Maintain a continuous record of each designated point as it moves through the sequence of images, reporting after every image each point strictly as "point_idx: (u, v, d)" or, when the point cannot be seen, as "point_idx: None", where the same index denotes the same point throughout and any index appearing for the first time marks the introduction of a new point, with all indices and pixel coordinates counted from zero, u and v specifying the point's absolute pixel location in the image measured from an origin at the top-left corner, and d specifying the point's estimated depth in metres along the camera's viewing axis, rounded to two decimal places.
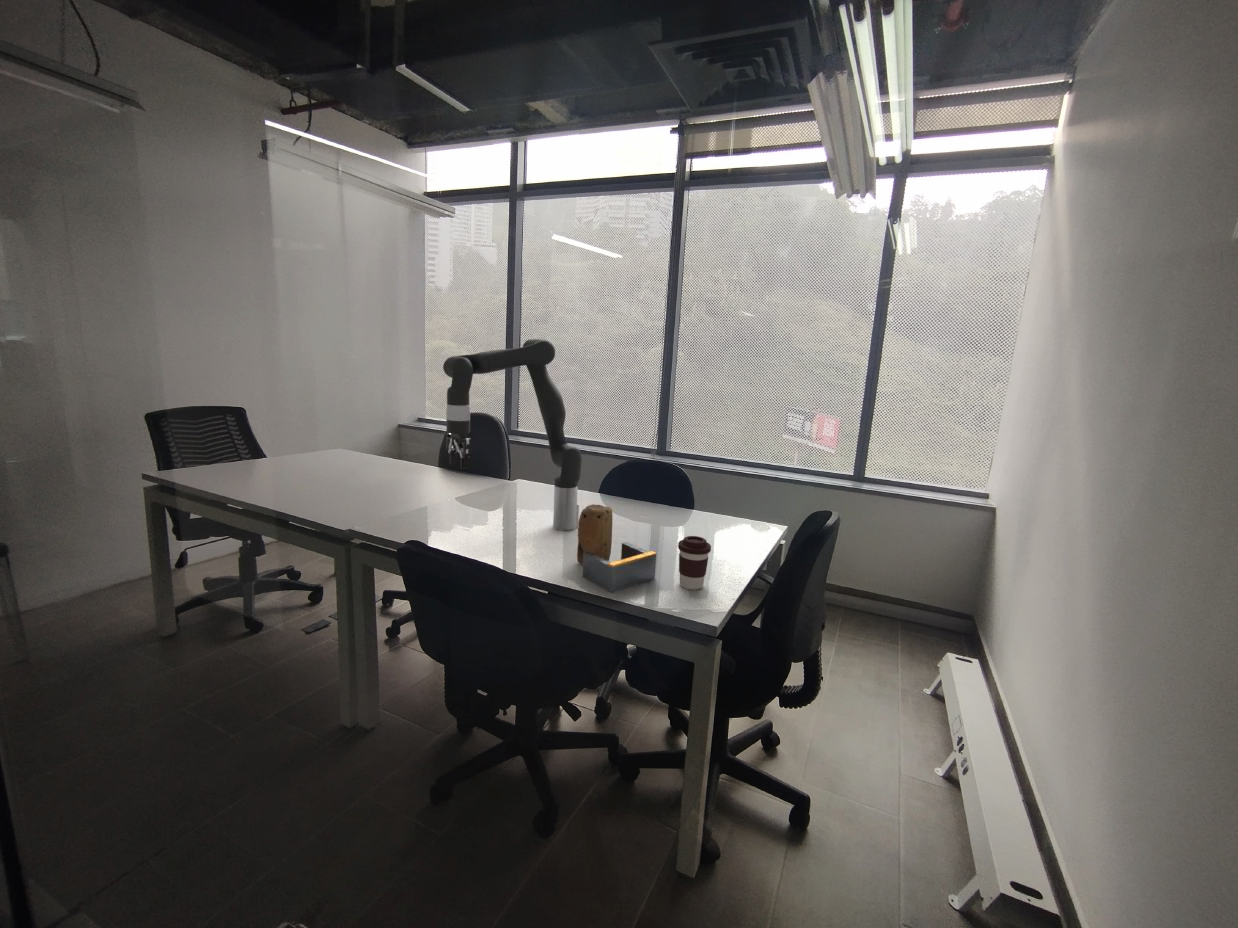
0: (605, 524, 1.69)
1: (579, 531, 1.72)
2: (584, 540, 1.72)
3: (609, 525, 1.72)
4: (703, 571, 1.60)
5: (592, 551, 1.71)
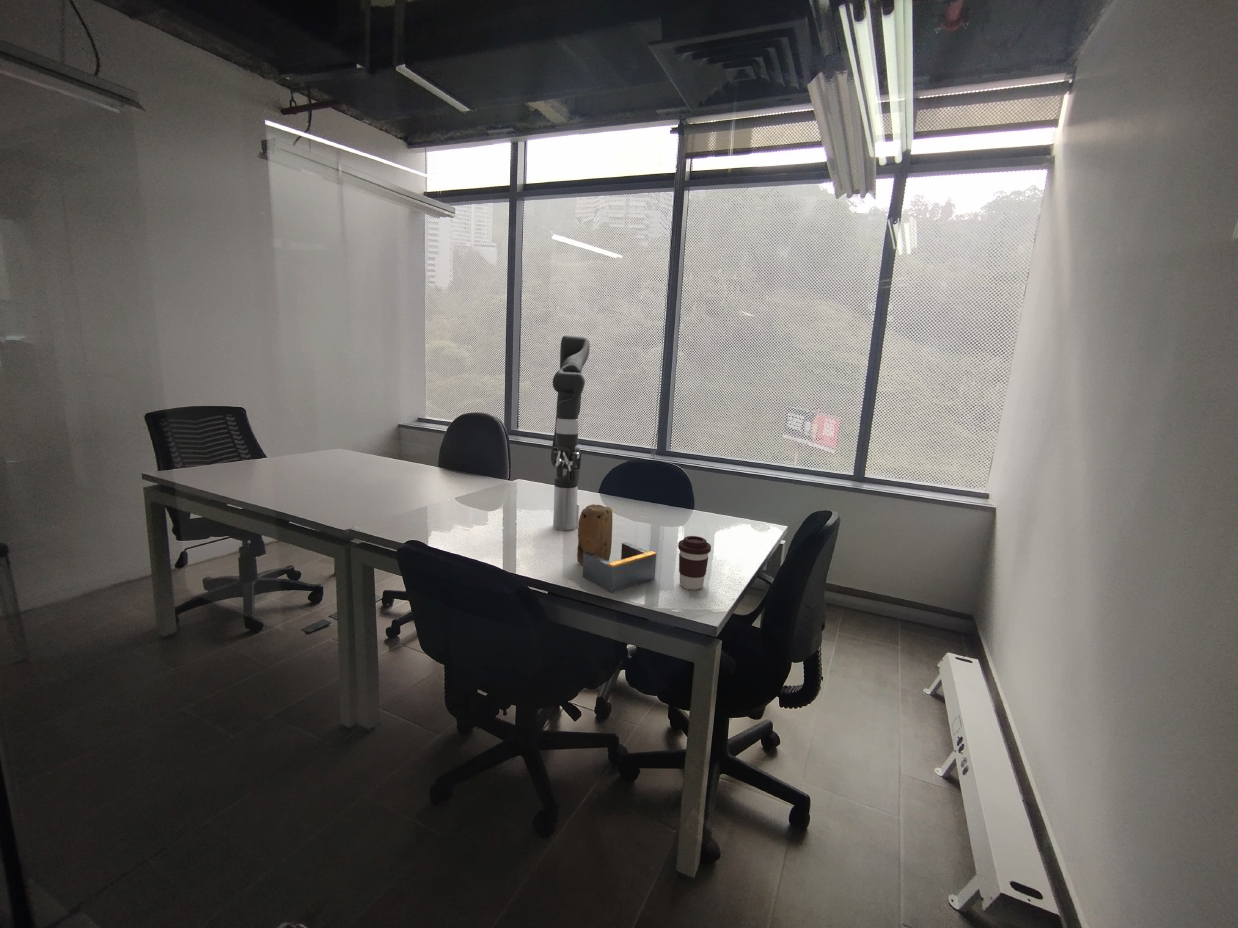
0: (605, 524, 1.69)
1: (579, 531, 1.72)
2: (584, 540, 1.72)
3: (609, 525, 1.72)
4: (703, 571, 1.60)
5: (592, 551, 1.71)
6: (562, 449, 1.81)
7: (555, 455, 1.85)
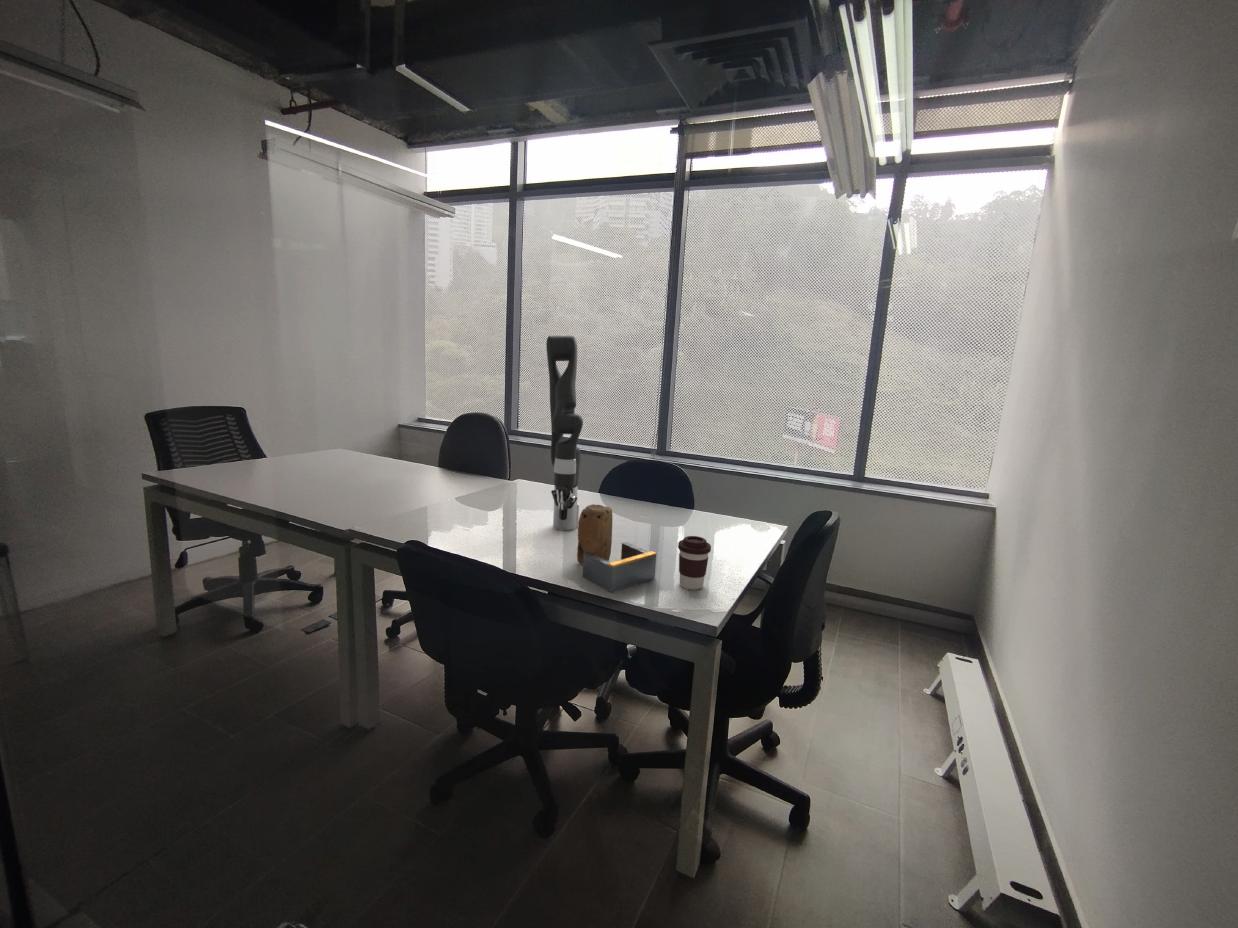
0: (604, 524, 1.69)
1: (579, 531, 1.72)
2: (584, 540, 1.72)
3: (609, 524, 1.72)
4: (703, 571, 1.60)
5: (592, 551, 1.71)
6: (560, 488, 1.84)
7: (556, 496, 1.87)
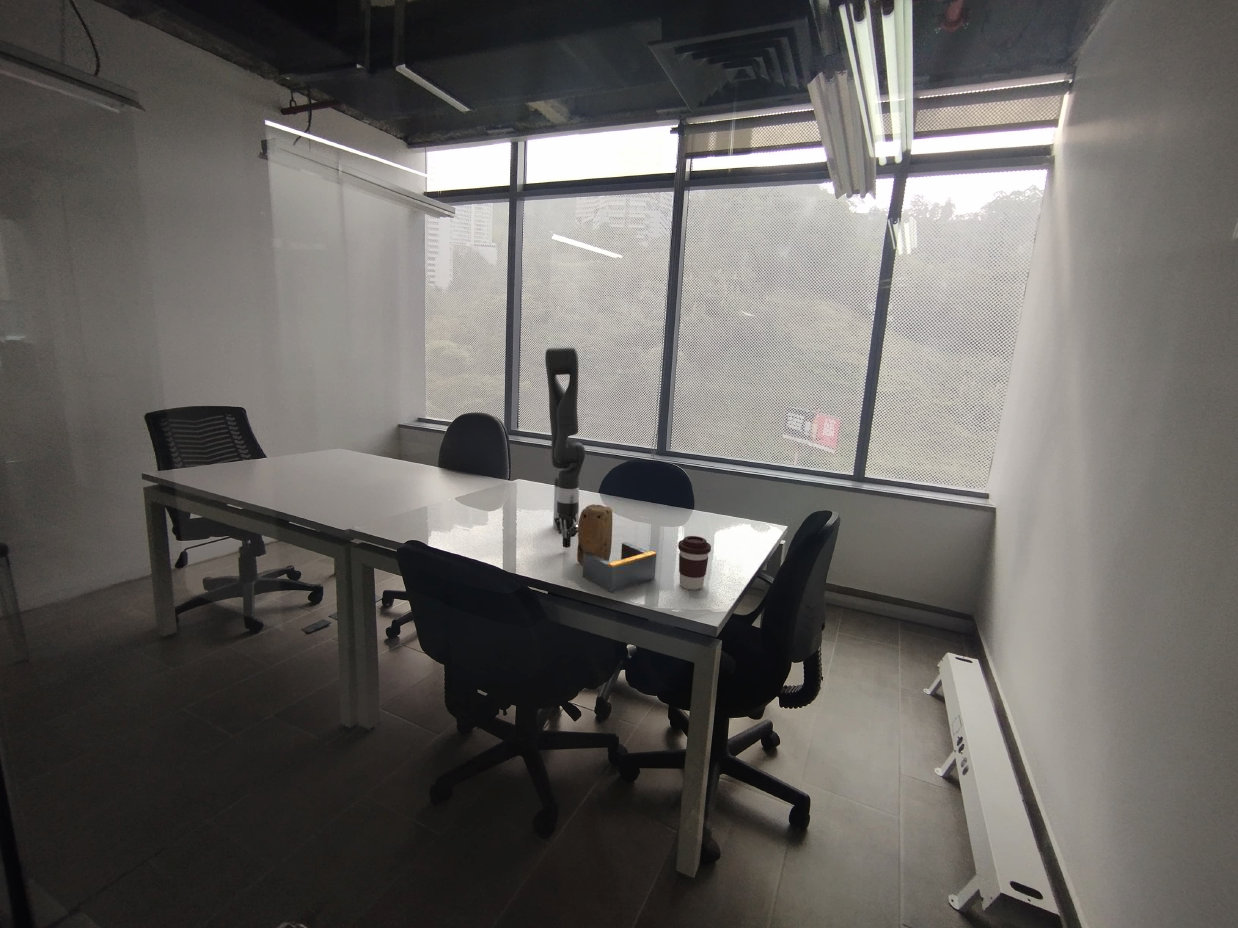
0: (605, 524, 1.69)
1: (579, 531, 1.72)
2: (584, 540, 1.72)
3: (609, 525, 1.72)
4: (703, 571, 1.60)
5: (592, 551, 1.71)
6: (563, 516, 1.84)
7: (559, 524, 1.87)
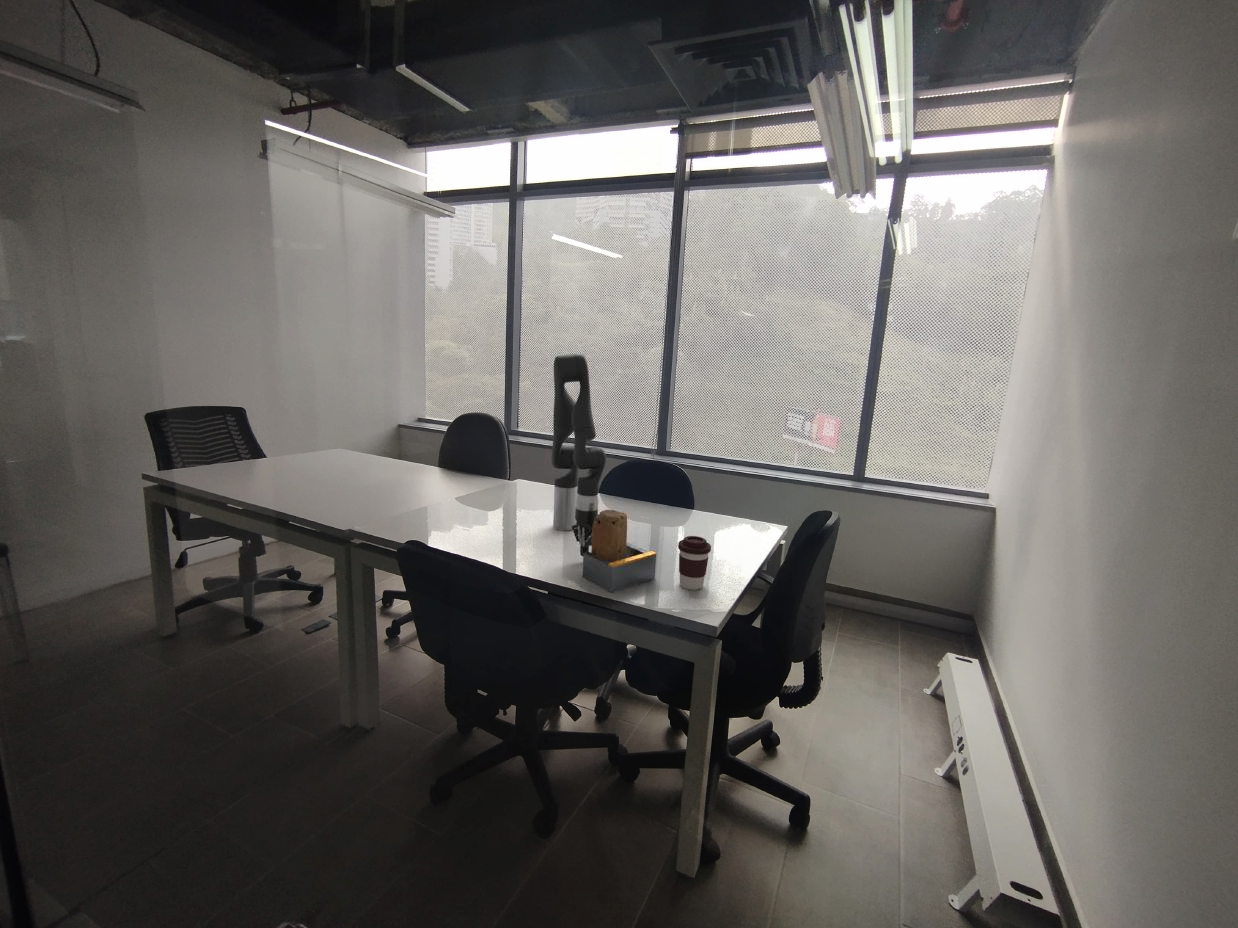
0: (619, 530, 1.63)
1: (593, 537, 1.67)
2: (598, 547, 1.66)
3: (624, 531, 1.66)
4: (703, 571, 1.60)
5: (606, 558, 1.66)
6: (581, 524, 1.76)
7: (577, 532, 1.80)
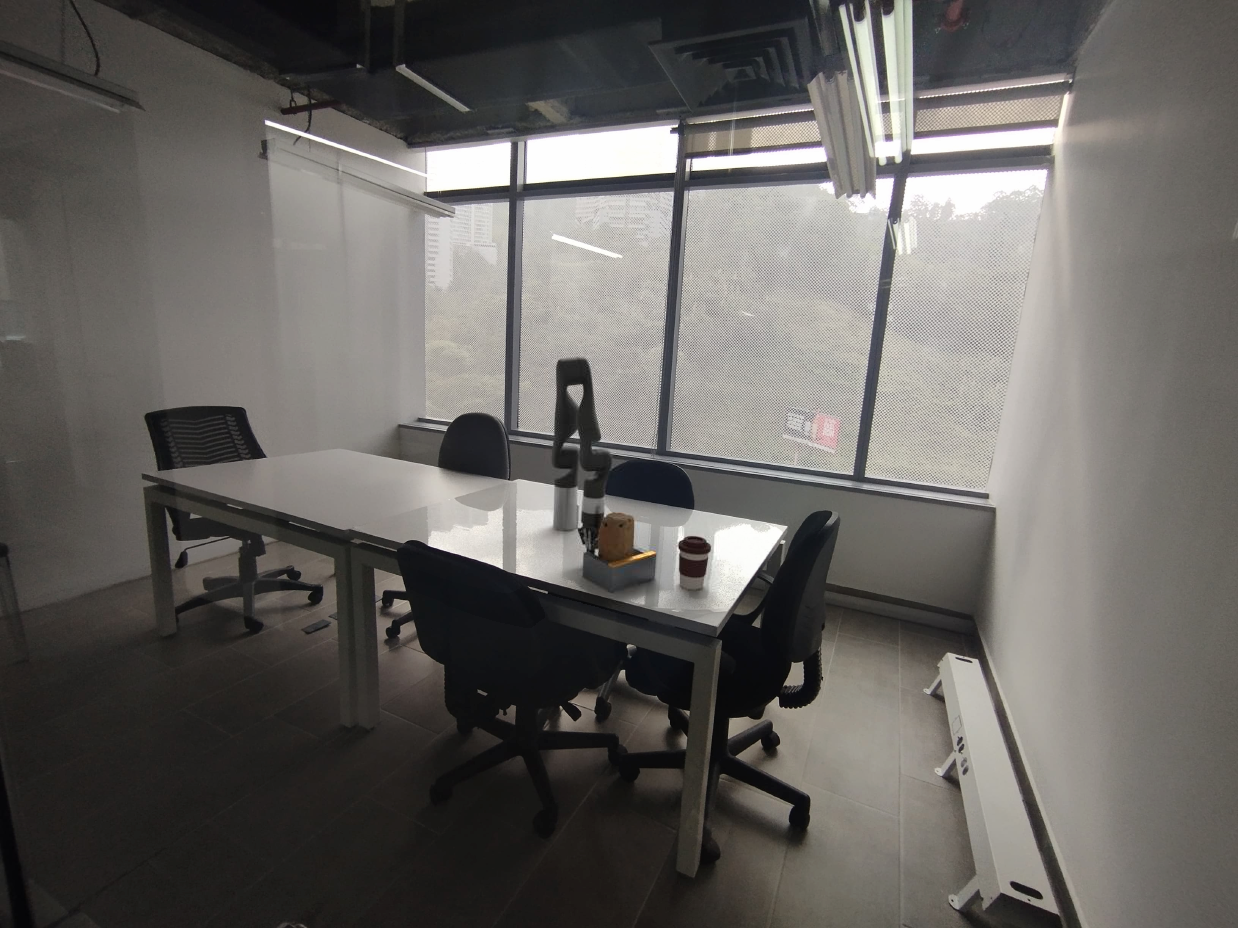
0: (627, 533, 1.61)
1: (600, 540, 1.64)
2: (605, 550, 1.64)
3: (631, 534, 1.64)
4: (703, 571, 1.60)
5: (613, 561, 1.63)
6: (587, 527, 1.74)
7: (582, 535, 1.77)
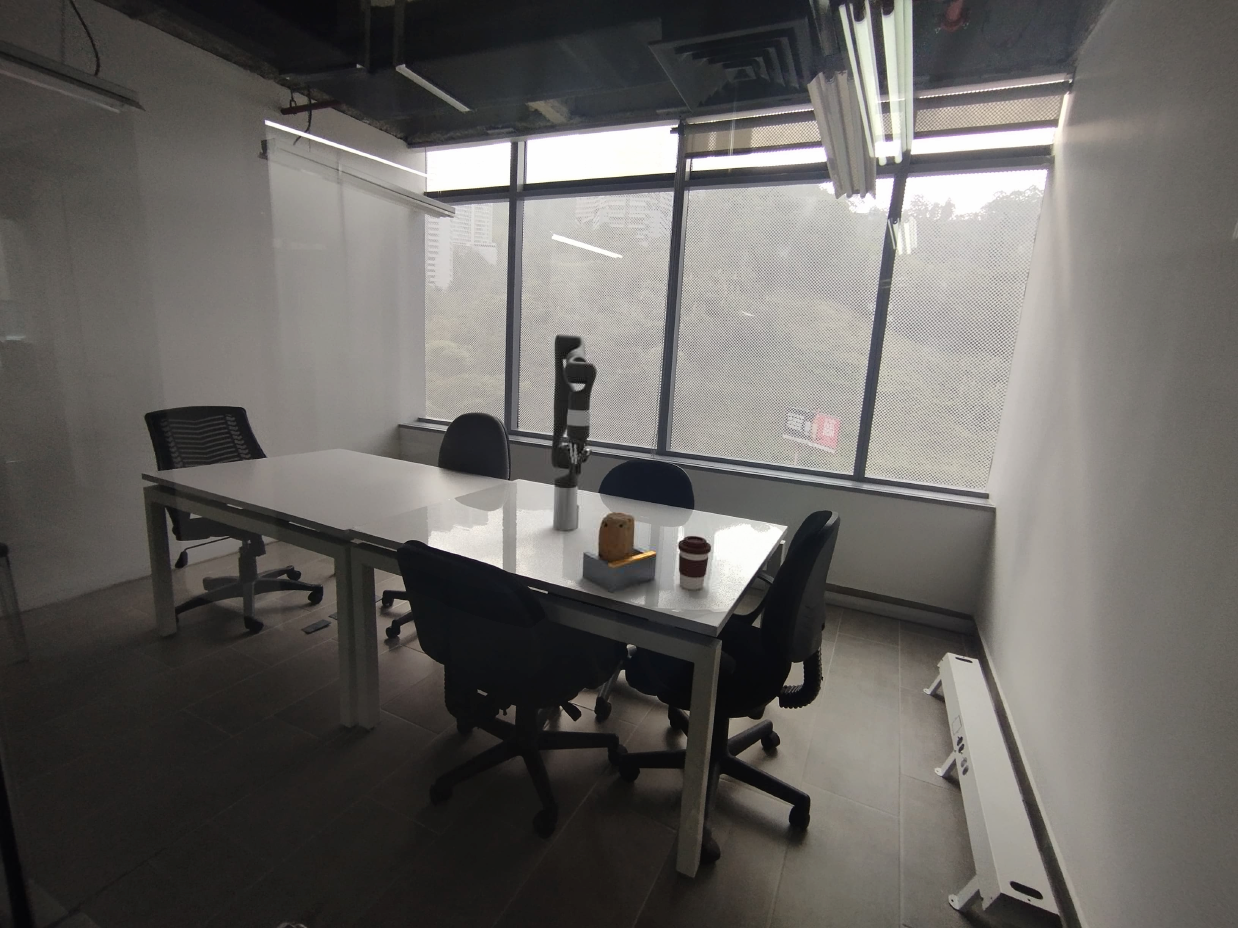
0: (627, 533, 1.61)
1: (600, 540, 1.64)
2: (605, 550, 1.64)
3: (631, 534, 1.64)
4: (703, 571, 1.60)
5: (613, 561, 1.63)
6: (573, 441, 1.76)
7: (569, 451, 1.79)
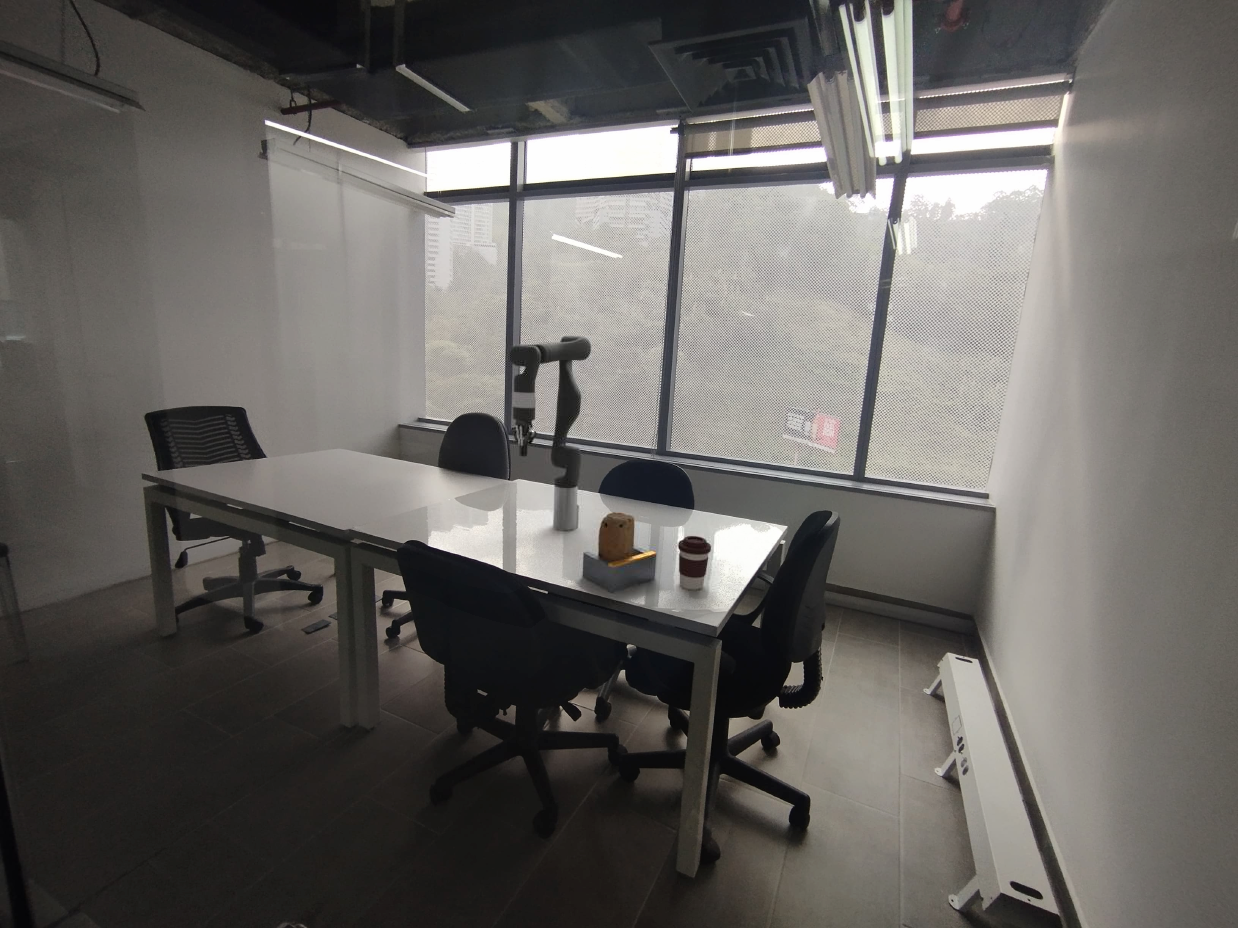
0: (627, 533, 1.61)
1: (600, 540, 1.64)
2: (605, 550, 1.64)
3: (631, 534, 1.64)
4: (703, 571, 1.60)
5: (613, 561, 1.63)
6: (519, 423, 1.80)
7: (516, 433, 1.83)
